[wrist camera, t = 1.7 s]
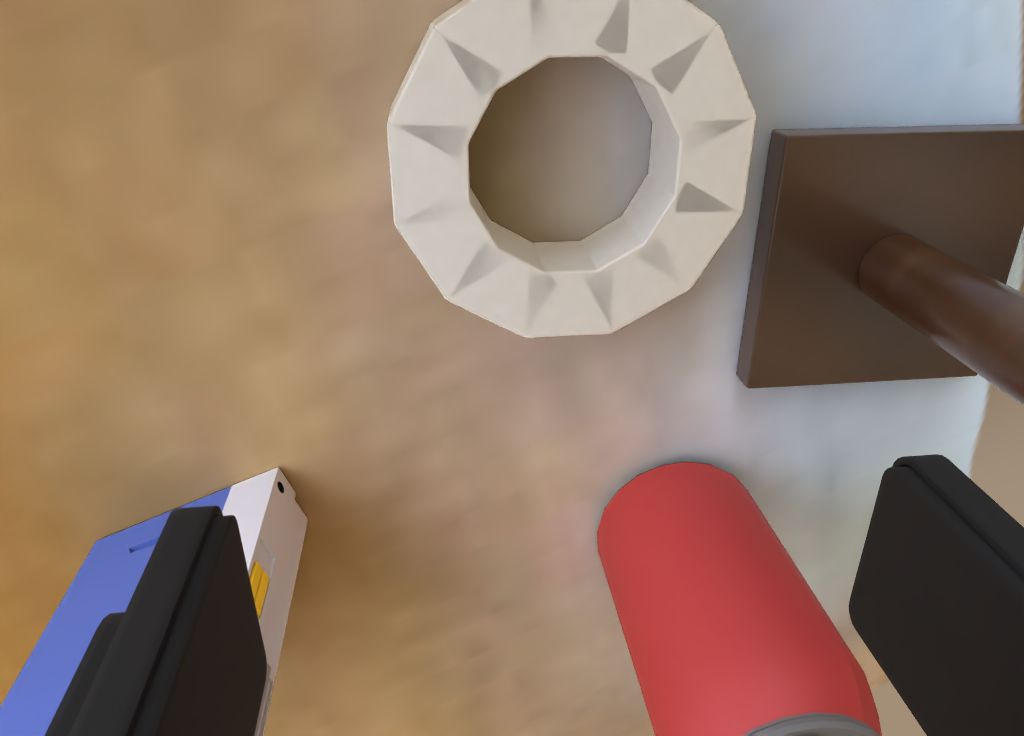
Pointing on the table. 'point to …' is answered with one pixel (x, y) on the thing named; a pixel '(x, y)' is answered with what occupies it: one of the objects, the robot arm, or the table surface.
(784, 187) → the spindle
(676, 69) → the tape roll
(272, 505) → the walkman
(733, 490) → the beer can
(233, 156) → the table surface
